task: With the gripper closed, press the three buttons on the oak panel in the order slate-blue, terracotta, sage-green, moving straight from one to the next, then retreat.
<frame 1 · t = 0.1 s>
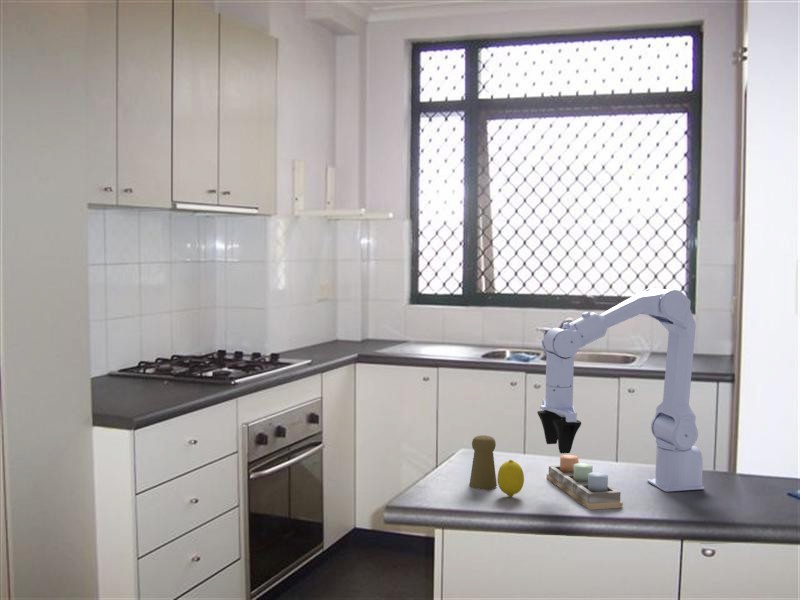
hand: (558, 448, 178), 10 cm above the worktop, tool pointing down, fingers open, 7 cm apart
panel: (582, 492, 180), on the worktop
lemon: (510, 497, 176), on the worktop
button terracotta: (569, 463, 187), point 4 cm above the worktop, slide at 0.0 cm
pepper mill: (483, 486, 185), on the worktop
button sage: (583, 472, 180), point 4 cm above the worktop, slide at 0.0 cm
button slate: (597, 482, 173), point 4 cm above the worktop, slide at 0.0 cm
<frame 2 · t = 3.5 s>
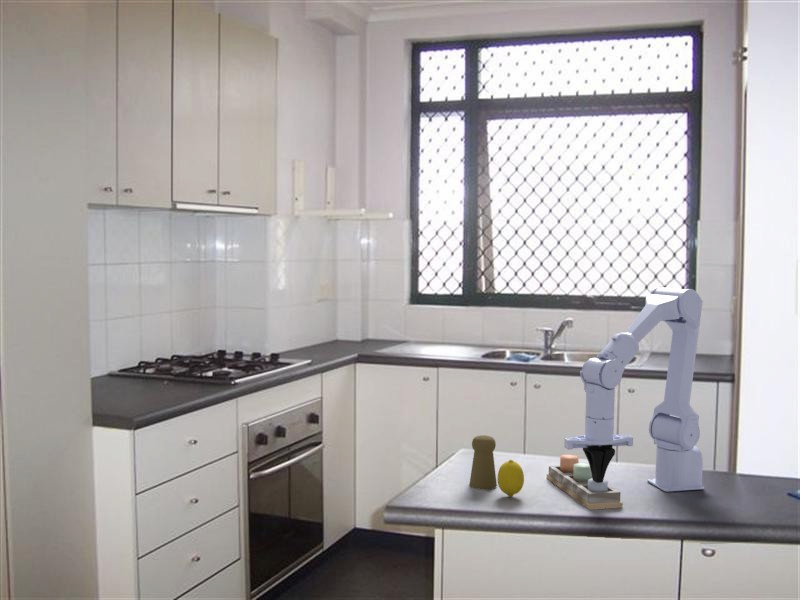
hand: (597, 481, 173), 4 cm above the worktop, tool pointing down, fingers closed, pressing on button slate
button slate: (597, 488, 173), point 3 cm above the worktop, slide at 1.3 cm, touching gripper
everything else where it was.
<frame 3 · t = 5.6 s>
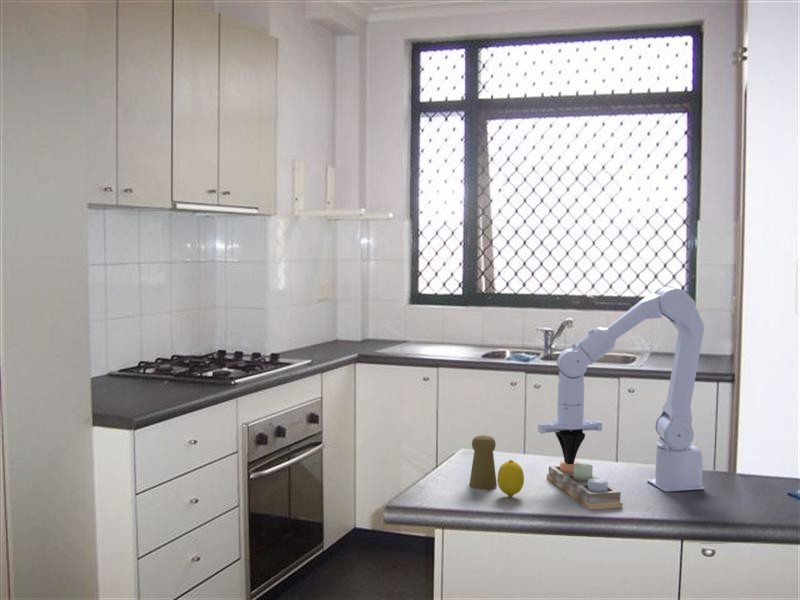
hand: (569, 463, 187), 4 cm above the worktop, tool pointing down, fingers closed, pressing on button terracotta
button terracotta: (569, 469, 187), point 3 cm above the worktop, slide at 1.3 cm, touching gripper
button slate: (597, 488, 173), point 3 cm above the worktop, slide at 1.3 cm
everything else where it was.
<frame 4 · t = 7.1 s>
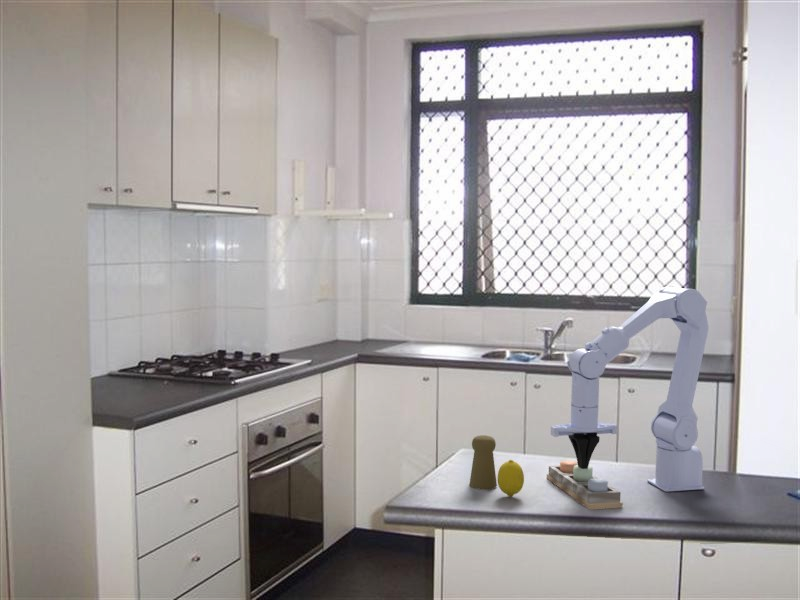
hand: (582, 467, 180), 5 cm above the worktop, tool pointing down, fingers closed, pressing on button sage
button terracotta: (569, 469, 187), point 3 cm above the worktop, slide at 1.3 cm
button sage: (582, 474, 180), point 4 cm above the worktop, slide at 0.4 cm, touching gripper
everything else where it was.
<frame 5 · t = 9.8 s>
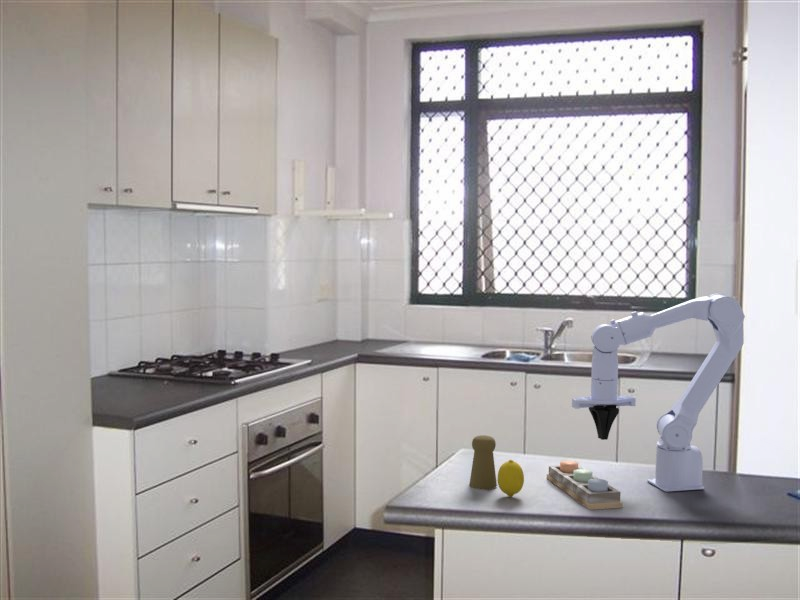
hand: (602, 438, 187), 10 cm above the worktop, tool pointing down, fingers closed
button sage: (582, 478, 180), point 3 cm above the worktop, slide at 1.3 cm
everything else where it was.
at the end: button slate slide at 1.3 cm; button terracotta slide at 1.3 cm; button sage slide at 1.3 cm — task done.
